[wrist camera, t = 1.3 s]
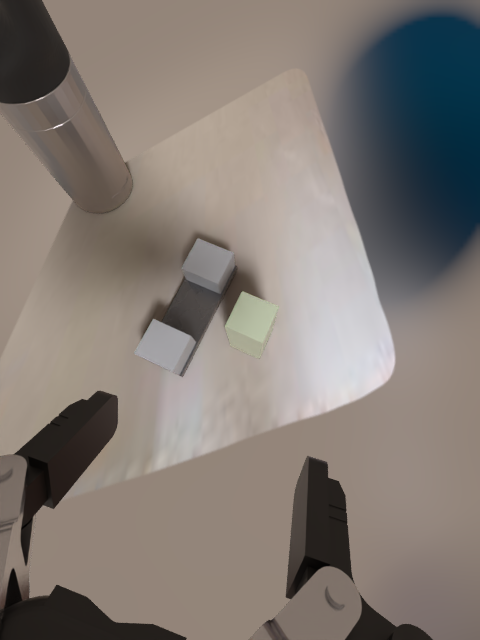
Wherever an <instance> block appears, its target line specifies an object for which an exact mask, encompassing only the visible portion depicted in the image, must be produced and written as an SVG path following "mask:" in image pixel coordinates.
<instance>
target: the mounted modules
mask: <svg viewBox="0 0 480 640" xmlns="http://www.w3.org/2000/svg"><path fill="white" fill-rule="evenodd" d="M234 267H235V259H234V253H233V252H231V251H228V250H226V249H223V248H221V247H218V246H216V245H213V244H211V243H208V242H206V241H203V240H201V239H199V238H198V239H197V240H196V242H195V244H194V246H193V248H192V249H191V251H190V253H189V255H188V257H187V258H186V260H185V262H184V264H183V266H182V268H181V269H182V271H183V273H184V275H185V277H186V280H188V281H191V282H193V283H195V284H198V285H200V286H202V287H205V288H207V289H209V290H212V291H214V292H216V293H219V294H221V292H222V290H223V288H224V286H225V284H226V282H227V280H228V279H229V277H230V275H231V273H232V271H233V269H234ZM195 344H196V341H195V340H194V339H193V338H192V336H190V335H188V334H186V333H184V332H181V331H179V330H177V329H175V328H173V327H170V326H168V325H166V324H164V323H162V322H159V321H157V320H155V319H153V320H152V322H151V323H150V325H149V327H148V329H147V331H146V333H145V334H144V336H143V338H142V340H141V342H140V343H139V345H138V347H137V349H136V351H135V352H134V354H136V355H138V356H140V357H142V358H144V359H146V360H148V361H150V362H152V363H155V364H157V365H159V366H161V367H163V368H165V369H167V370H169V371H171V372H173V373H175V374H178V375H180V373H181V371H182V369H183V367H184V365H185V363H186V361H187V359H188V357H189V355H190V353H191V352H192V350H193V348H194V346H195Z"/></svg>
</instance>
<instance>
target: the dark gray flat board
mask: <svg viewBox="0 0 480 640" xmlns="http://www.w3.org/2000/svg"><path fill="white" fill-rule="evenodd" d="M236 271H237V266H235V267H234V269H233V271H232V273H231V275H230V277H229V279H228V280H227V282H226V284H225V286H224V288H223V290H222V292H221V294H219V293H216V292H214V291H212V290H209V289H207V288H205V287H202V286H200V285H198V284H195V283H193V282H191V281H188V280H186V278H185V280H184V282H183V283H182V285H181V287H180V289H179V291H178V293H177V294H176V296H175V298H174V300H173V302H172V304H171V305H170V307H169V309H168V311H167V313H166V315H165V316H164V318H163V320H162V323H164V324H166V325H168V326H170V327H173V328H175V329H177V330H179V331H181V332H184V333H186V334H188V335H190V336H192V338H193V339H194V340H195V341H196V344H195V346H194V348H193V350H192V352H191V353H190V355H189V357H188V359H187V361H186V363H185V365H184V367H183V369H182V371H181V373H180V376H182V377H183V376H184V374H185V372H186V370H187V368H188V366H189V364H190V362H191V360H192V358H193V356H194V354H195V352H196V350H197V348H198V346H199V344H200V342H201V340H202V338H203V336H204V334H205V332H206V330H207V328H208V326H209V324H210V322H211V320H212V318H213V316H214V314H215V312H216V310H217V308H218V306H219V304H220V302H221V300H222V298H223V296H224V294H225V292H226V290H227V288H228V286H229V284H230V282H231V280H232V279H233V277H234V275H235V273H236Z"/></svg>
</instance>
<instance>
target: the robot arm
mask: <svg viewBox="0 0 480 640" xmlns="http://www.w3.org/2000/svg"><path fill="white" fill-rule="evenodd" d="M0 114H1V115H2V116H3V117H4V119H5V120H6V121H7V122H8V123H9V124H10V126H11V127H12V128H13V129H14V130H15V132H16V133H17V134H18V135H19V136H20V137H21V139H22V140H23V141H24V142H25V144H26V145H27V146H28V147H29V149H30V150H31V151H32V152H33V153H34V155H35V156H36V157H37V158H38V159H39V161H40V162H41V163H42V164H43V165H44V166H45V167H46V169H47V170H48V171H49V172H50V174H51V175H52V176H53V177H54V178H55V180H56V181H57V182H58V183H59V184H60V185H61V186H62V188H63V189H64V190H65V191H66V193H68V195H69V196H70V197H71V198H72V199H73V201H74V202H75V203H76V204H77V205H78V206H79V207H80V208H82V209H83V210H85V211H88V212H92V213H104V212H108V211H111V210H114V209H115V208H117V207H119V206H120V205H121V204H123V203H124V202H125V201H126V199H127V198H128V197H129V195H130V193H131V190H132V177H131V175H130V173H129V171H128V169H127V167H126V165H125V163H124V161H123V159H122V157H121V155H120V153H119V151H118V149H117V147H116V145H115V143H114V141H113V139H112V137H111V135H110V133H109V131H108V129H107V127H106V125H105V123H104V121H103V119H102V117H101V115H100V113H99V111H98V109H97V107H96V105H95V103H94V101H93V99H92V97H91V95H90V93H89V91H88V89H87V87H86V85H85V83H84V81H83V80H82V78H81V76H80V74H79V72H78V70H77V68H76V66H75V64H74V62H73V60H72V58H71V56H70V54H69V52H68V50H67V48H66V46H65V44H64V42H63V40H62V38H61V36H60V35H59V33H58V31H57V29H56V27H55V25H54V23H53V21H52V19H51V18H50V15H49V13H48V11H47V9H46V7H45V6H44V4H43V2H42V0H0ZM117 424H118V398H117V396H116V395H112V394H109V393H106V392H103V391H97V392H96V393H95V394H94V395H92V396H91V397H90V398H89V399H88V400H84V399H81V400H79V401H77V402H75V403H73V404H71V405H69V406H68V407H67V408H66V409H65V410H63V411H62V412H61V413H60V414H59V416H58V417H56V418H54V419H53V420H52V421H51V422H50V424H48V425H47V426H45V427H44V428H43V429H42V430H41V431H40V432H39V433H38V434H37V435H35V436H34V437H33V438H32V439H31V440H30V441H29V442H28V443H26V444H25V445H24V446H23V447H22V448H21V449H20V450H19V451H17V452H16V453H15V454H13V455H4V456H0V640H186V638H185V637H183V636H181V635H178V634H176V633H173V632H170V631H168V630H166V629H164V628H161V627H159V626H156V625H154V624H135V623H116V622H113V621H112V620H111V619H110V618H109V617H108V616H106V615H105V614H104V613H103V612H102V611H101V610H100V609H99V608H98V607H97V606H96V605H95V604H94V603H93V602H92V601H91V600H90V599H88V598H87V597H86V596H83V595H81V594H78V593H76V592H73V591H71V590H69V589H66V588H63V587H61V586H59V585H56V587H55V588H54V590H53V591H52V593H51V594H50V596H38V597H34V598H29V593H30V584H29V573H30V563H31V554H32V546H33V537H34V528H35V519H36V513H37V511H38V510H39V509H40V508H41V507H42V506H43V505H45V506H47V507H50V508H53V509H54V508H55V507H56V505H57V504H58V503H59V502H60V501H61V499H62V498H63V497H64V496H65V494H66V493H67V492H68V491H69V490H70V488H71V487H72V486H73V485H74V483H75V482H76V481H77V480H78V479H79V477H80V476H81V475H82V474H83V472H84V471H85V470H86V469H87V467H88V466H89V465H90V464H91V463H92V461H93V460H94V459H95V458H96V456H97V455H98V454H99V453H100V452H101V450H102V449H103V448H104V447H105V445H106V444H107V443H108V442H109V440H110V439H111V438H112V437H113V435H114V433H115V431H116V428H117ZM286 598H289V599H291V600H290V601H289V602H288V603H287V604H286V606H285V607H284V608H283V609H282V610H281V611H280V612H279V613H278V614H277V615H276V616H275V617H274V618H273V619H272V620H268V621H267V622H265V623H264V624H263V625H262V626H261V627H260V628H259V629H258V630H257V631H256V632H255V633H254V634H253V636H251V637H250V639H249V640H432V639H431V637H430V636H428V634H426V633H425V632H424V631H423V630H421V629H420V628H418V627H416V626H413V625H411V624H402V625H400V626H398V627H396V626H395V625H393V624H392V623H391V622H389V621H388V620H387V619H385V618H384V617H383V616H381V615H380V614H379V613H377V612H376V611H375V610H374V609H372V608H371V607H370V606H369V605H368V604H367V603H366V602H365V601H364V599H363V598H362V596H361V595H360V593H359V592H358V590H357V588H356V586H355V583H354V581H353V578H352V572H351V561H350V549H349V537H348V525H347V513H346V500H345V494H344V492H343V490H342V488H341V485H340V483H339V481H336V480H333V479H330V478H328V464H327V462H325V461H322V460H319V459H316V458H313V457H309V456H307V458H306V460H305V463H304V466H303V468H302V471H301V474H300V476H299V479H298V482H297V485H296V489H295V494H294V504H293V516H292V528H291V540H290V551H289V564H288V576H287V589H286Z"/></svg>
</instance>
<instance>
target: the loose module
mask: <svg viewBox="0 0 480 640" xmlns="http://www.w3.org/2000/svg"><path fill="white" fill-rule="evenodd" d="M278 309H279V306H276V305H274V304H272V303H269V302H267V301H265V300H262V299H260V298H257V297H255V296H253V295H250V294H248V293H246V292H243V291H242V292H241V294H240V296H239V298H238V300H237V302H236V304H235V307H234V309H233V311H232V313H231V315H230V317H229V319H228V321H227V323H226V325H225V329H226V332H227V335H228V339H229V342H230V346H231V347H233V348H236V349H238V350H240V351H242V352H245V353H247V354H249V355H251V356H253V357H256V358H258V359H260V357H261V355H262V352H263V350H264V348H265V346H266V343H267V341H268V339H269V337H270V335H271V332H272V330H273V326H274V323H275V319H276V316H277V312H278Z"/></svg>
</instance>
